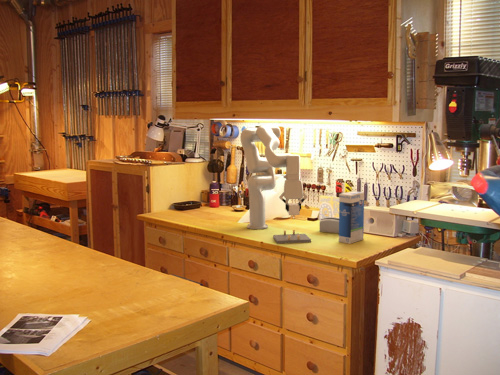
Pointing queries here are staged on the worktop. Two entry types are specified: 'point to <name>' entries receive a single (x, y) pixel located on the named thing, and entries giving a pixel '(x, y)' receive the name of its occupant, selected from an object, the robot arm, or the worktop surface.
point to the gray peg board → (291, 238)
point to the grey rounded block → (329, 224)
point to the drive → (294, 209)
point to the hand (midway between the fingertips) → (293, 210)
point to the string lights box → (351, 217)
